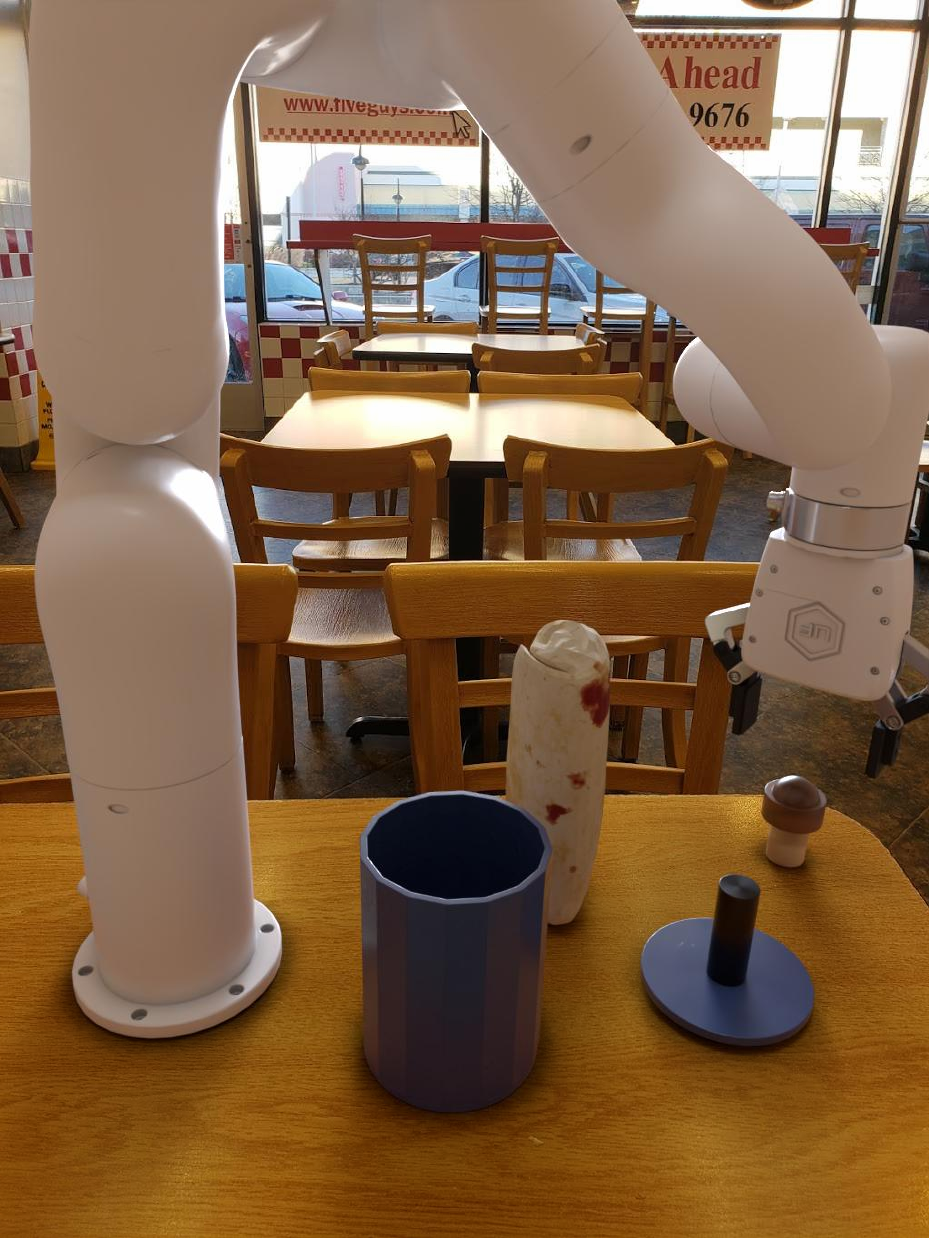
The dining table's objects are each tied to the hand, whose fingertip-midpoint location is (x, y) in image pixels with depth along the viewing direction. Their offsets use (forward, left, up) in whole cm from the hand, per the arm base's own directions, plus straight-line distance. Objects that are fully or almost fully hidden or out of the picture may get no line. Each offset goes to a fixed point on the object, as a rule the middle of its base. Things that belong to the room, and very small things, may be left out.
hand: (807, 748), depth 68 cm
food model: (-12, -15, -10) cm, 22 cm away
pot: (-9, -30, -9) cm, 33 cm away
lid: (+2, -16, -9) cm, 19 cm away
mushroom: (0, 0, -9) cm, 9 cm away
